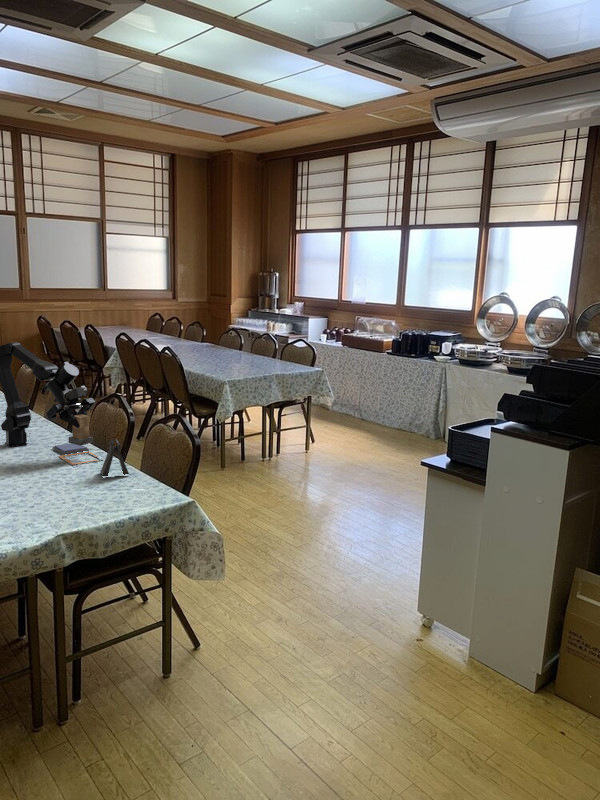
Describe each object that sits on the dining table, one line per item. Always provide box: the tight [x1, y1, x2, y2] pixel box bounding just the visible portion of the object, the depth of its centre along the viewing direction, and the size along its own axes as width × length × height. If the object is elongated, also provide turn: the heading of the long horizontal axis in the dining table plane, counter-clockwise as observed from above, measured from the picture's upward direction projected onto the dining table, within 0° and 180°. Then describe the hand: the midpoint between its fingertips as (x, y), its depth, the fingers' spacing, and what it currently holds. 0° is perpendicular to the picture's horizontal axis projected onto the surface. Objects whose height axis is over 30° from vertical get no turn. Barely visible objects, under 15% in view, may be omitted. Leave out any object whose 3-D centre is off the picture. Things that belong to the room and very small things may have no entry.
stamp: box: [68, 414, 94, 446], centre depth 222 cm, size 6×6×10 cm
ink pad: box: [52, 443, 90, 455], centre depth 234 cm, size 10×10×2 cm
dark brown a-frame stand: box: [100, 438, 130, 477], centre depth 207 cm, size 9×6×12 cm, turn 112°
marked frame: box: [58, 450, 98, 466], centre depth 224 cm, size 12×13×1 cm
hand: (83, 426), depth 221 cm, fingers closed on stamp, 4 cm apart
